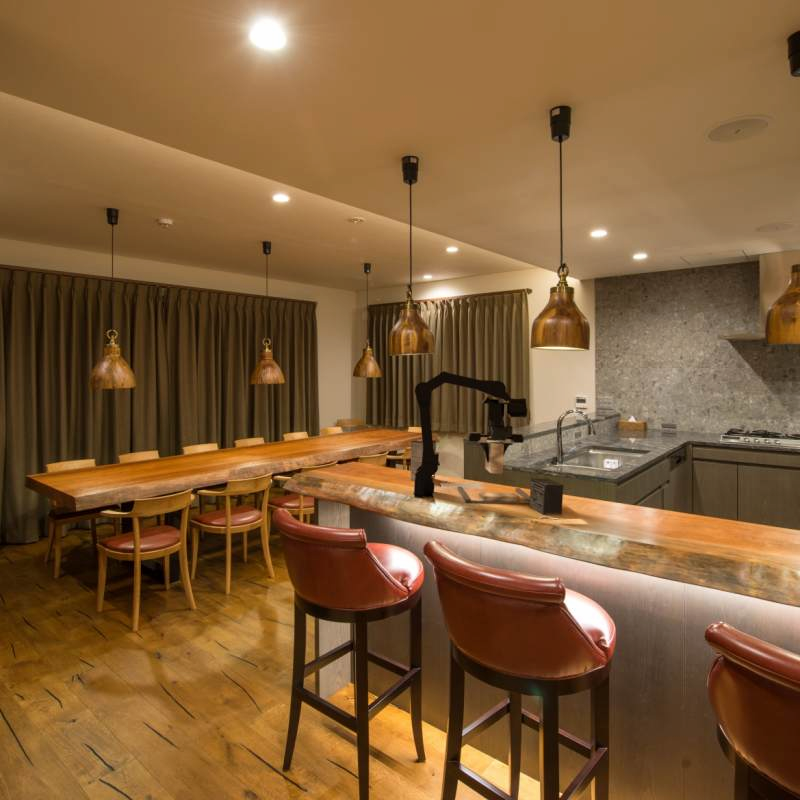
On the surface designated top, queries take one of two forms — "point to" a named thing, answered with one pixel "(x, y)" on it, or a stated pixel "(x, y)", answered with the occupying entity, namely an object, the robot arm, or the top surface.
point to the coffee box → (418, 455)
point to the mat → (461, 485)
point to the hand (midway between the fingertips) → (494, 462)
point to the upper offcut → (498, 497)
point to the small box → (546, 496)
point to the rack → (518, 490)
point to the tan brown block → (495, 457)
